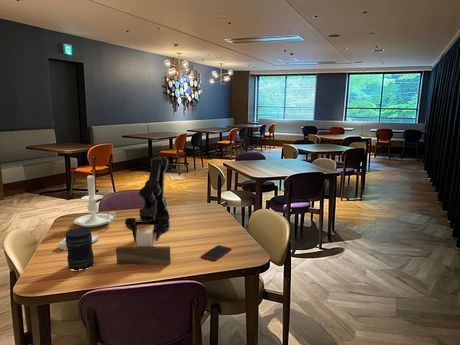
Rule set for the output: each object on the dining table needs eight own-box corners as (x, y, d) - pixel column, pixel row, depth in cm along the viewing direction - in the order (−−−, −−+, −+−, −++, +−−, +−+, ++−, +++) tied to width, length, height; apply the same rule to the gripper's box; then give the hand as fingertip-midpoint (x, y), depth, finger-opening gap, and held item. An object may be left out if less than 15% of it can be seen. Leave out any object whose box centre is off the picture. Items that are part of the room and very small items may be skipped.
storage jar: (68, 273, 141) (64, 237, 138) (68, 263, 150) (65, 229, 147) (94, 268, 145) (92, 233, 142) (93, 259, 154) (90, 226, 151)
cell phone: (200, 258, 155) (199, 256, 154) (218, 246, 167) (218, 244, 167) (215, 262, 151) (215, 260, 151) (232, 250, 163) (232, 248, 163)
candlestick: (104, 233, 184) (100, 180, 179) (65, 228, 192) (60, 177, 186) (127, 221, 203) (124, 173, 198) (91, 217, 211) (87, 170, 206)
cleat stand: (124, 253, 159) (123, 239, 158) (173, 253, 160) (172, 238, 158) (117, 264, 148) (115, 249, 147) (170, 263, 149) (169, 248, 147)
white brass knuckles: (77, 253, 161) (52, 249, 166) (103, 239, 178) (79, 235, 182) (77, 246, 160) (51, 242, 165) (102, 232, 177) (78, 229, 182)
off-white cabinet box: (140, 256, 156) (139, 229, 154) (154, 256, 156) (152, 229, 154) (137, 261, 151) (136, 233, 149) (152, 261, 152) (150, 233, 149)
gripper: (124, 200, 155) (119, 233, 146) (167, 199, 155) (164, 233, 147) (130, 212, 164) (125, 244, 155) (171, 211, 164) (168, 243, 156)
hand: (145, 241), depth 153 cm, fingers open, 9 cm apart
